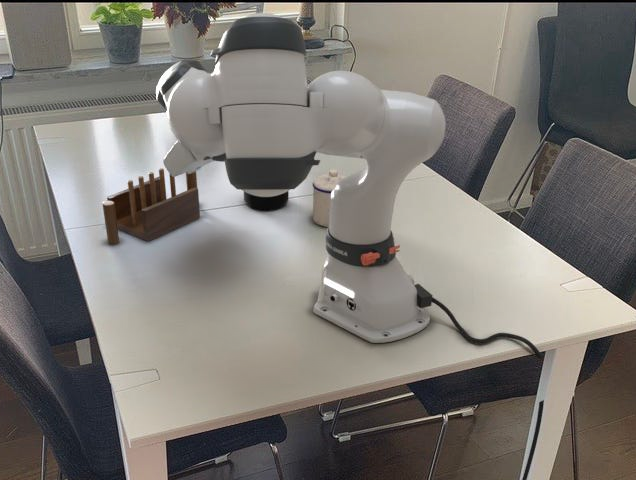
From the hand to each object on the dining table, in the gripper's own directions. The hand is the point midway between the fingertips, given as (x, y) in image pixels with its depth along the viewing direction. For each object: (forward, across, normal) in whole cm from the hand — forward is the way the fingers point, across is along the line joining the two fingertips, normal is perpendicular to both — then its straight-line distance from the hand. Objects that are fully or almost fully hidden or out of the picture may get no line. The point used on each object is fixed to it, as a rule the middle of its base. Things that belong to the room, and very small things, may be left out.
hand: (191, 169), depth 156 cm
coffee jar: (+12, -24, +11) cm, 29 cm away
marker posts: (+20, 0, +2) cm, 20 cm away
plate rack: (+20, 0, +2) cm, 20 cm away
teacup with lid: (0, -27, +23) cm, 36 cm away
